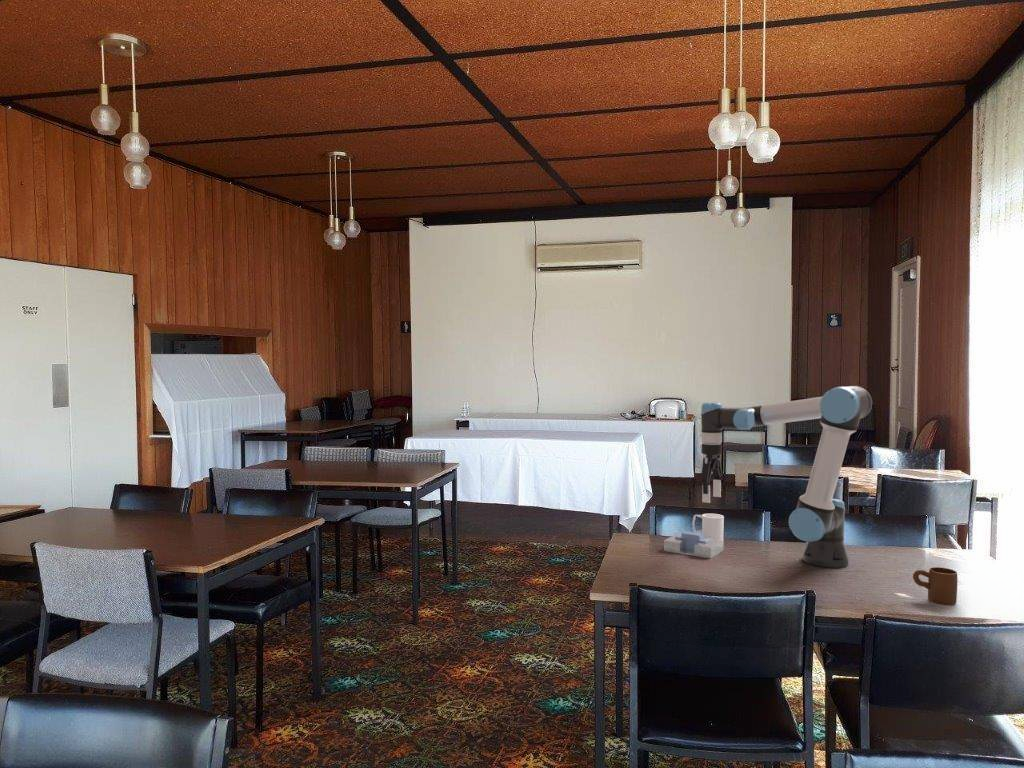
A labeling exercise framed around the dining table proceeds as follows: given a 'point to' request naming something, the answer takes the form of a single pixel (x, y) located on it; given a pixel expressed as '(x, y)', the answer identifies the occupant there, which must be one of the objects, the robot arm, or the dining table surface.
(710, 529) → the cup
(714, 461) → the robot arm
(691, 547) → the servo
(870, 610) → the dining table surface
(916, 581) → the mug
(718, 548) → the chassis
